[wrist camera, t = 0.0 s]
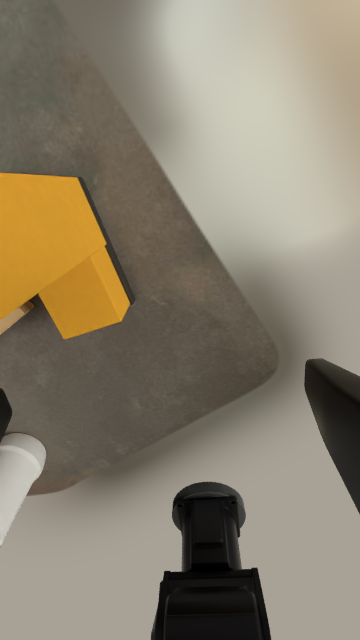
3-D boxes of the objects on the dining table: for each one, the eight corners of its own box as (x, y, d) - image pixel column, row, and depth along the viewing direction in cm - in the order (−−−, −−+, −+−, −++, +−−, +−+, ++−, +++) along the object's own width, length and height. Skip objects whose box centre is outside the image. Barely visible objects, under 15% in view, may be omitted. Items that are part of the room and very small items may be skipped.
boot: (22, 202, 21) (-249, 230, 8) (82, 177, 20) (-110, 164, 7) (82, 317, 24) (-40, 467, 11) (135, 299, 23) (69, 439, 11)
